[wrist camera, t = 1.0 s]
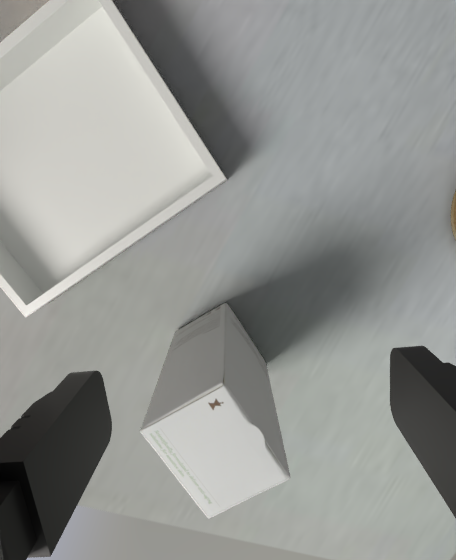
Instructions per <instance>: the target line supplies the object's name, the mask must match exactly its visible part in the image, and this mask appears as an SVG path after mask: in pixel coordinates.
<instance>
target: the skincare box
mask: <svg viewBox="0 0 456 560" xmlns="http://www.w3.org/2000/svg"><path fill="white" fill-rule="evenodd" d="M140 432H141V434H142V435H143V436H144V437H145V439H146V440H147V441H148V442H149V443H150V445H151V446H152V447H153V449H154V450H155V451H156V452H157V454H158V455H159V456H160V457H161V459H162V460H163V461H164V463H165V464H166V465H167V466H168V468H169V469H170V470H171V472H172V473H173V474H174V475H175V477H176V478H177V479H178V481H179V482H180V483H181V485H182V486H183V487H184V488H185V490H186V491H187V492H188V494H189V495H190V496H191V497H192V499H193V500H194V501H195V502H196V504H197V505H198V506H199V508H200V509H201V510H202V511H203V513H204V514H205V515H206V516H207V518H211V517H213V516H215V515H217V514H220V513H222V512H224V511H226V510H228V509H230V508H231V507H233V506H235V505H237V504H239V503H241V502H243V501H245V500H247V499H250V498H252V497H254V496H256V495H258V494H260V493H262V492H264V491H266V490H268V489H270V488H272V487H274V486H277V485H279V484H281V483H283V482H285V481H287V480H289V479H290V473H289V468H288V464H287V459H286V454H285V450H284V445H283V440H282V436H281V431H280V427H279V422H278V417H277V413H276V408H275V403H274V399H273V394H272V390H271V385H270V380H269V375H268V370H267V365H266V362H265V361H264V359H263V357H262V356H261V354H260V352H259V351H258V349H257V348H256V346H255V345H254V343H253V342H252V340H251V338H250V337H249V335H248V334H247V332H246V331H245V329H244V328H243V326H242V325H241V323H240V321H239V320H238V318H237V317H236V315H235V314H234V312H233V311H232V310H231V308H230V307H229V305H228V304H227V303H224V304H222V305H220V306H219V307H217V308H215V309H213V310H212V311H210V312H208V313H206V314H205V315H203V316H201V317H199V318H198V319H196V320H194V321H193V322H191V323H189V324H187V325H186V326H184V327H182V328H181V329H179V330H177V331H176V332H175V333H174V336H173V339H172V342H171V345H170V348H169V350H168V353H167V356H166V359H165V362H164V365H163V368H162V370H161V373H160V376H159V379H158V382H157V385H156V387H155V390H154V393H153V396H152V399H151V401H150V404H149V407H148V410H147V413H146V416H145V419H144V421H143V424H142V427H141V429H140Z"/></svg>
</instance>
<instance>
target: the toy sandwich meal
mask: <svg viewBox="0 0 456 560" xmlns="http://www.w3.org/2000/svg"><path fill="white" fill-rule="evenodd" d="M451 226H452V231H453V234H454V237H455V240H456V191H455V194H454V197H453V201H452V207H451Z"/></svg>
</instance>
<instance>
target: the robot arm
mask: <svg viewBox="0 0 456 560" xmlns="http://www.w3.org/2000/svg"><path fill="white" fill-rule="evenodd" d="M390 406H391V411H392V415H393V418H394V421H395V423H396V425H397V427H398V428H399V430H400V431H401V433H402V435H403V436H404V438H405V439H406V441H407V442H408V444H409V446H410V447H411V449H412V450H413V452H414V453H415V455H416V457H417V458H418V460H419V461H420V463H421V464H422V466H423V468H424V469H425V471H426V472H427V474H428V475H429V477H430V478H431V480H432V482H433V483H434V485H435V486H436V488H437V489H438V491H439V493H440V494H441V496H442V497H443V499H444V500H445V502H446V504H447V505H448V507H449V508H450V510H451V511H452V513H453V515H454V516H455V518H456V366H454V365H452V364H450V363H443V362H441V361H440V360H439V359H438V358H437V357H436V356H435V355H434V354H433V353H431V352H430V351H429V350H428V349H427V348H426V347H424V346H414V347H401V348H393V349H392V351H391V355H390ZM111 431H112V421H111V415H110V410H109V406H108V401H107V396H106V391H105V387H104V382H103V378H102V375H101V373H100V372H99V371H87V372H74V373H70V374H68V375H67V376H66V377H65V379H64V380H63V381H62V382H61V383H60V384H59V385H58V386H57V387H56V388H55V390H54V391H53V392H50V393H48V394H47V395H45V396H44V397H42V398H41V399H39V400H38V401H36V402H35V403H33V404H32V405H31V406H30V407H29V409H28V410H27V411H26V412H25V413H24V414H23V415H22V416H21V419H18V420H17V421H16V422H15V423H14V424H13V425H12V426H11V430H8V431H7V432H6V433H5V434H4V435H3V436H2V437H1V438H0V560H26V559H27V558H28V557H29V558H30V557H50V556H51V555H52V553H53V551H54V549H55V547H56V545H57V543H58V541H59V539H60V537H61V535H62V533H63V531H64V529H65V527H66V525H67V523H68V521H69V519H70V518H71V516H72V514H73V512H74V510H75V508H76V506H77V504H78V502H79V500H80V498H81V496H82V494H83V492H84V490H85V488H86V486H87V485H88V483H89V481H90V479H91V477H92V475H93V473H94V471H95V469H96V467H97V465H98V463H99V461H100V459H101V457H102V455H103V453H104V451H105V449H106V448H107V446H108V443H109V441H110V437H111Z"/></svg>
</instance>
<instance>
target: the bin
mask: <svg viewBox="0 0 456 560" xmlns="http://www.w3.org/2000/svg"><path fill="white" fill-rule="evenodd" d="M225 181H227V178H226V176H225V175H224V173H223V172H222V170H221V169H220V167H219V165H218V164H217V162H216V161H215V159H214V158H213V156H212V155H211V153H210V151H209V150H208V148H207V147H206V145H205V144H204V142H203V141H202V139H201V137H200V136H199V134H198V133H197V131H196V130H195V128H194V126H193V125H192V123H191V122H190V120H189V119H188V117H187V116H186V114H185V112H184V111H183V109H182V108H181V106H180V105H179V103H178V102H177V100H176V98H175V97H174V95H173V94H172V92H171V91H170V89H169V87H168V86H167V84H166V83H165V81H164V80H163V78H162V77H161V75H160V73H159V72H158V70H157V69H156V67H155V66H154V64H153V63H152V61H151V59H150V58H149V56H148V55H147V53H146V52H145V50H144V48H143V47H142V45H141V44H140V42H139V41H138V39H137V38H136V36H135V34H134V33H133V31H132V30H131V28H130V27H129V25H128V24H127V22H126V20H125V19H124V17H123V16H122V14H121V13H120V11H119V9H118V8H117V6H116V5H115V3H114V2H113V0H49V1H48V2H47V3H46V4H44V5H43V6H42V7H41V8H40V9H39V10H38V11H36V12H35V13H34V14H33V15H32V16H31V17H29V18H28V19H27V20H26V21H25V22H24V23H22V24H21V25H20V26H19V27H18V28H17V29H15V30H14V31H13V32H12V33H11V34H10V35H9V36H7V37H6V38H5V39H4V40H3V41H2V42H0V287H1V288H2V290H3V291H4V292H5V293H6V294H7V296H8V297H9V298H10V299H11V301H12V302H13V303H14V304H15V305H16V307H17V308H18V309H19V310H20V311H21V313H22V314H23V315H24V316H25V317H27V316H29V315H30V314H32V313H34V312H35V311H37V310H38V309H40V308H42V307H43V306H45V305H47V304H48V303H50V302H51V301H53V300H54V299H55V298H57V297H58V296H60V295H61V294H63V293H64V292H66V291H67V290H69V289H70V288H71V287H73V286H74V285H76V284H77V283H79V282H80V281H82V280H83V279H84V278H86V277H87V276H89V275H90V274H92V273H93V272H95V271H96V270H98V269H99V268H100V267H102V266H103V265H105V264H106V263H108V262H109V261H111V260H112V259H114V258H115V257H116V256H118V255H119V254H121V253H122V252H124V251H125V250H127V249H128V248H130V247H131V246H132V245H134V244H135V243H137V242H138V241H140V240H141V239H143V238H144V237H145V236H147V235H148V234H150V233H151V232H153V231H154V230H156V229H157V228H159V227H160V226H161V225H163V224H164V223H166V222H167V221H169V220H170V219H172V218H173V217H175V216H176V215H177V214H179V213H180V212H182V211H183V210H185V209H186V208H188V207H189V206H191V205H192V204H193V203H195V202H196V201H198V200H199V199H201V198H202V197H204V196H205V195H207V194H208V193H209V192H211V191H212V190H214V189H215V188H217V187H218V186H220V185H221V184H222V183H224V182H225Z"/></svg>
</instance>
